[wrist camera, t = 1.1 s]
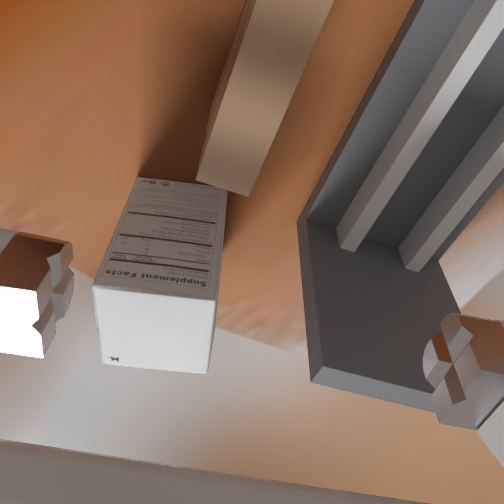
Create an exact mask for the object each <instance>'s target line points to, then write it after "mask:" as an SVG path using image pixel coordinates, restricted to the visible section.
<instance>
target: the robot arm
mask: <svg viewBox="0 0 504 504" xmlns="http://www.w3.org/2000/svg"><path fill="white" fill-rule="evenodd" d="M72 259H73V249H72V244H71V243H70V242H68V241H63V240H59V239H54V238H49V237H44V236H39V235H34V234H30V233H25V232H18V231H13V230H8V229H3V228H0V352H5V353H13V354H19V355H26V356H34V357H42V358H43V357H44V355H45V353H46V351H47V349H48V347H49V345H50V343H51V341H52V340H53V338H54V336H55V334H56V326H55V322H56V321H57V320H59V319H61V318H63V317H64V316H65V314H66V312H67V310H68V308H69V305H70V302H71V298H72V295H73V288H74V273H73V272H72V271H71V270H70V268H69V267H68V266H69V264H70V262H71V261H72ZM440 327H441V331H442V332H441V333H439V334H437V335H435V336H434V337H432V338H431V339H430V340H429V342H428V344H427V346H426V347H425V350H424V355H423V370H424V374H425V378H426V380H427V381H428V382H429V383H430V384H431V385H432V386H433V387H434V388H435V390H434V391H433V393H432V395H431V398H432V402H433V405H434V408H435V412H436V415H437V418H438V422H439V423H442V424H446V425H452V426H457V427H462V428H468V429H473V430H477V431H476V433H477V434H478V435H479V436H480V438H481V439H482V440H483V442H484V443H485V444H486V445H487V446H488V448H489V449H490V450H491V451H492V453H493V454H494V455H495V457H496V458H497V459H498V460H499V462H500V463H501V464H502V465H503V467H504V321H500V320H491V319H485V318H480V317H474V316H469V315H463V314H458V313H452V312H450V313H449V314H448V315H446V316H445V317H444V318H443V320H442V321H441V323H440ZM0 504H428V503H422V502H415V501H409V500H402V499H395V498H388V497H381V496H375V495H368V494H361V493H355V492H348V491H341V490H335V489H328V488H321V487H314V486H308V485H301V484H295V483H288V482H281V481H275V480H268V479H261V478H254V477H248V476H242V475H235V474H228V473H222V472H215V471H208V470H202V469H195V468H189V467H182V466H175V465H169V464H162V463H155V462H149V461H142V460H135V459H128V458H122V457H115V456H108V455H102V454H95V453H88V452H82V451H76V450H69V449H62V448H56V447H49V446H42V445H36V444H29V443H22V442H16V441H9V440H2V439H0Z"/></svg>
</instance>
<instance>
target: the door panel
mask: <svg viewBox="0 0 504 504" xmlns="http://www.w3.org/2000/svg"><path fill="white" fill-rule="evenodd" d="M333 2H334V0H246V1H245V4H244V8H243V11H242V14H241V17H240V20H239V23H238V26H237V29H236V32H235V35H234V38H233V41H232V44H231V47H230V50H229V54H228V57H227V60H226V63H225V66H224V69H223V72H222V75H221V78H220V81H219V84H218V87H217V90H216V93H215V96H214V99H213V103H212V106H211V110H210V115H209V120H208V124H207V129H206V134H205V138H204V143H203V147H202V152H201V157H200V161H199V166H198V171H197V175H196V180H197V181H200V182H203V183H206V184H209V185H212V186H216V187H219V188H222V189H225V190H228V191H231V192H234V193H237V194H240V195H243V196H246V197H249V195H250V193H251V190H252V188H253V186H254V183H255V181H256V179H257V177H258V174H259V172H260V170H261V167H262V165H263V163H264V160H265V158H266V156H267V154H268V151H269V149H270V147H271V144H272V142H273V140H274V137H275V135H276V133H277V131H278V128H279V126H280V124H281V121H282V119H283V117H284V114H285V112H286V110H287V108H288V105H289V103H290V101H291V98H292V96H293V94H294V91H295V89H296V87H297V84H298V82H299V80H300V78H301V75H302V73H303V71H304V68H305V66H306V64H307V61H308V59H309V57H310V55H311V52H312V50H313V48H314V45H315V43H316V41H317V38H318V36H319V34H320V32H321V29H322V27H323V25H324V22H325V20H326V18H327V15H328V13H329V11H330V9H331V6H332V4H333Z"/></svg>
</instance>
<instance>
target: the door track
mask: <svg viewBox="0 0 504 504" xmlns="http://www.w3.org/2000/svg"><path fill="white" fill-rule="evenodd" d="M503 182H504V0H415V2H414V4H413V6H412V7H411V9H410V11H409V13H408V15H407V17H406V19H405V21H404V22H403V24H402V26H401V28H400V30H399V32H398V34H397V35H396V37H395V39H394V41H393V43H392V45H391V47H390V49H389V50H388V52H387V54H386V56H385V58H384V60H383V62H382V64H381V65H380V67H379V69H378V71H377V73H376V75H375V77H374V79H373V80H372V82H371V84H370V86H369V88H368V90H367V92H366V94H365V95H364V97H363V99H362V101H361V103H360V105H359V107H358V109H357V110H356V112H355V114H354V116H353V118H352V120H351V122H350V123H349V125H348V127H347V129H346V131H345V133H344V135H343V137H342V138H341V140H340V142H339V144H338V146H337V148H336V150H335V152H334V153H333V155H332V157H331V159H330V161H329V163H328V165H327V167H326V168H325V170H324V172H323V174H322V176H321V178H320V180H319V182H318V183H317V185H316V187H315V189H314V191H313V193H312V195H311V197H310V198H309V200H308V202H307V204H306V206H305V208H304V210H303V212H302V213H301V215H300V217H299V219H298V221H297V232H298V243H299V254H300V266H301V277H302V289H303V300H304V311H305V323H306V334H307V346H308V357H309V368H310V379H311V382H312V383H316V384H320V385H324V386H328V387H332V388H336V389H340V390H344V391H348V392H352V393H356V394H360V395H365V396H369V397H373V398H377V399H381V400H385V401H389V402H394V403H398V404H401V405H406V406H409V407H413V408H418V409H422V410H426V411H430V412H434V413H436V412H435V408H434V405H433V402H432V398H431V395H432V393H433V391H434V390H435V388H434V387H433V386H432V385H431V384H430V383H429V382H428V381H427V380H426V378H425V374H424V370H423V355H424V350H425V347H426V346H427V344H428V342H429V340H430V339H431V338H432V337H434V336H435V335H437V334H439V333H441V332H442V331H441V327H440V323H441V321H442V320H443V318H444V317H445V316H446V315H448V314H449V313H450V312H452V313H458V314H461V313H460V310H459V308H458V305H457V303H456V301H455V298H454V296H453V294H452V292H451V289H450V287H449V285H448V282H447V280H446V278H445V275H444V273H443V271H442V268H441V266H440V264H439V262H438V260H439V259H440V258H441V257H442V256H443V254H444V253H445V252H446V251H447V250H448V248H449V247H450V246H451V245H452V243H453V242H454V241H455V240H456V239H457V237H458V236H459V235H460V234H461V233H462V231H463V230H464V229H465V228H466V227H467V225H468V224H469V223H470V222H471V220H472V219H473V218H474V217H475V216H476V214H477V213H478V212H479V211H480V210H481V208H482V207H483V206H484V205H485V204H486V202H487V201H488V200H489V199H490V197H491V196H492V195H493V194H494V193H495V191H496V190H497V189H498V188H499V187H500V185H501V184H502V183H503Z"/></svg>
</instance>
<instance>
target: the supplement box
mask: <svg viewBox="0 0 504 504" xmlns="http://www.w3.org/2000/svg"><path fill="white" fill-rule="evenodd" d="M227 194H228V190H225V189H222V188H219V187H216V186H209V185H201V184H193V183H185V182H177V181H169V180H161V179H152V178H144V177H137V178H136V180H135V182H134V185H133V187H132V190H131V192H130V195H129V198H128V200H127V202H126V205H125V207H124V210H123V212H122V214H121V217H120V219H119V222H118V224H117V227H116V229H115V231H114V234H113V236H112V238H111V241H110V243H109V245H108V248H107V250H106V253H105V255H104V257H103V260H102V262H101V265H100V267H99V270H98V272H97V275H96V278H95V280H94V283H93V286H92V291H93V299H94V307H95V315H96V327H97V333H98V341H99V349H100V359H101V360H100V361H101V363H104V364H110V365H117V366H127V367H137V368H148V369H159V370H169V371H180V372H190V373H207V372H208V367H209V362H210V356H211V350H212V343H213V336H214V329H215V321H216V312H217V303H218V293H219V282H220V272H221V262H222V252H223V241H224V229H225V216H226V204H227Z"/></svg>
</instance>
